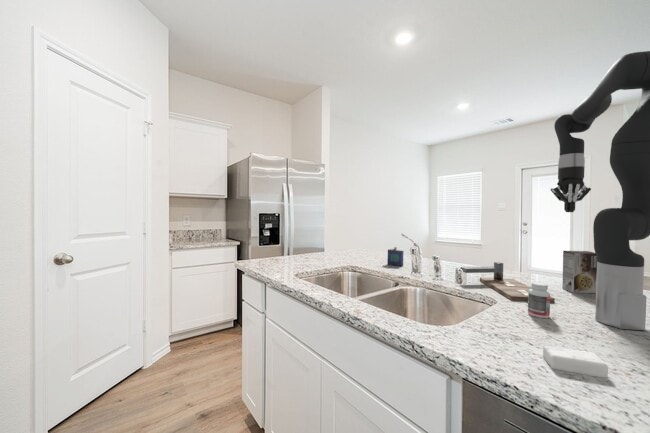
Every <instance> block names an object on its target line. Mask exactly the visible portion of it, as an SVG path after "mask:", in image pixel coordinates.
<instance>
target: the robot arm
mask: <svg viewBox="0 0 650 433" xmlns="http://www.w3.org/2000/svg"><path fill="white" fill-rule="evenodd" d="M620 90H622V91H625V90H626V91H627V90H629V91H630V90H641V96H640V100H639V104H638V105H637V108H636V110H634V112H633V113H632V115H631V116H629V118H628V119H627V120H626V121H625V122H624V123H623V124H622V126H621V127H620V128H619V129H618V131H617V132H616V133H615V134H614V136H613V137H612V140H611V144H610V152H609V154H610V155H609V165H610V168H611V170H612V172H613V174H614V176H615V178H616V180H617V181H618V183H619V185H620V188H621V191H622V200H621V201H622V202H621V207H608V208H604V209H602V210H600V211H599V212H598V213H597V214H596V215H595V217H594V220H593V228H592V229H593V230H592V232H593V250H594V253H596V255H597V261H598V262H597V279H596V293H595V313H594V314H595V315H594V316H595V320H596V321H597V322H599V323H602V324H604V325H608V326H611V327H614V328H616V329H617V328H618V329H621V330H635V331H636V330H637V331H646V319H647V318H646V316H647V299H648V298H647V296H646V295H645V294H644V278H645V277H644V274H645V258H644V256H643V255H642V254H639V253H636V252H635V251H633V249H631V246H630V241H642V240H645V239H647V238H648V237H650V50H645V51H635V52H631V53H626V54H624V55H623V56H621V57H619V59H617V60H616V61H615V62H614V63H613V64H612V65H611V67H610V68H609V69H608V71H607V72H606V73H605V75H604V76H603V77H602V78H601V80H600V81H599V82H598V84H596V87H595V88H594V89H593V91H592V92H591V93H590V94H589V95H588V96H587V97H586V98H585V99H584V100H583V101H582V102H581V103H579V105H577V106H576V107H574V109H573V111H572V113H569V114H568V113H567V114H562V115H559V116H558V117H557V118H556V120H555V122H554V128H553V129H554V131H555V134H556V135H555V136H556V137H557V140H558V144H559V158H558V168H557V180H558V181H557V184H556V185H555V186H554V187H551V188H550V189H549V190H550V192H552V193H553V195H554V196H555V197H556V199H557V200H558V201H559V202H563V203H564V204H563V206H564V211H565V213H574V212H575V211H576V202H579V201H582V200H583V199H585V197H586V196H587V195H588V193H590V192H591V190H592V188H591V187H587V186H586V185H585V182H584V179H585V164H586V161H585V160H586V158H585V140H584V139H582V138H580V137H574V136H572V135H571V134H577V133H584V132H587V131H588V130H590V128H591V127H592V124H593V123H594V122H595V120H596V119H597V118H598V117H600V116H601V115H602V114H604V113H605V112H607V110H608V109H609V107H610V106H611V105H612V100H613V98H612V96H613V95H612V94H614V93H615V92H617V91H620Z"/></svg>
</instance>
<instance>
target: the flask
mask: <svg viewBox="0 0 650 433" xmlns="http://www.w3.org/2000/svg"><path fill="white" fill-rule="evenodd" d="M386 261H387V265H388V266H394V267H395V266H396V267H404V250H402V249H401V250H400V249H398V247H397V246H394V248H390V249H387V259H386Z"/></svg>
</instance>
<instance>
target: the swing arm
mask: <svg viewBox="0 0 650 433" xmlns="http://www.w3.org/2000/svg"><path fill="white" fill-rule="evenodd" d="M459 269H462V270H463V273H465V274H473V273H474V274H475V273H476V274H477V273H478V274H480V273H482V274H484V273H485V274H486V273H487V274H488V273H493V278H494V279H497V280H503V279H504V263H503V262H500V261H499V262H498V261H494V262H493V266H461V267H459Z"/></svg>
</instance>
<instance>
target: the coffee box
mask: <svg viewBox="0 0 650 433" xmlns="http://www.w3.org/2000/svg"><path fill="white" fill-rule="evenodd" d="M562 252H563V253H562V254H563V255H562V281H561V282H562V284H561V285H562V286H561V288H563V289H562V290H565V291H567V290H568V291H567V292H570V293H572V294H596V279H597V262H598V261H597V255H596V253H595V251H594V252H593V251H589V250H563V251H562Z"/></svg>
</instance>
